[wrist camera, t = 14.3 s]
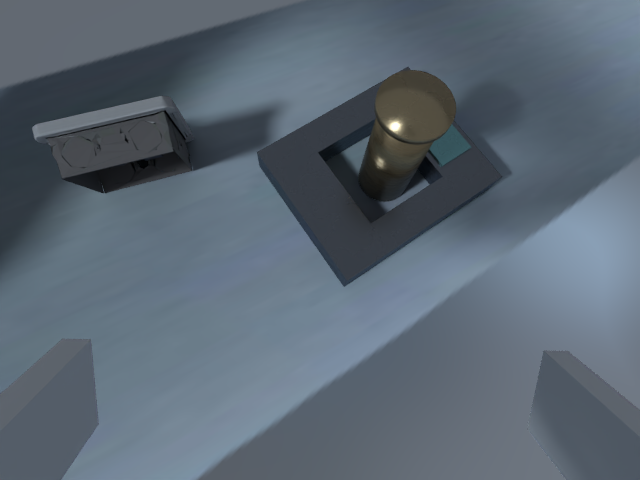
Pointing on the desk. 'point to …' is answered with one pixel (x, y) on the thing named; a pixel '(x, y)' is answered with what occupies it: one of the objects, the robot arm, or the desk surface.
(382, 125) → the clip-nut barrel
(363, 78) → the desk surface
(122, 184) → the electrical switch
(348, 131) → the rack plate
